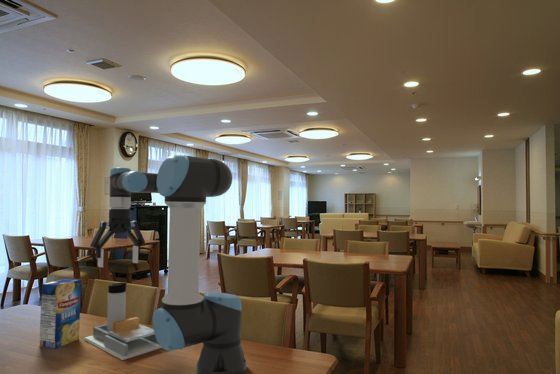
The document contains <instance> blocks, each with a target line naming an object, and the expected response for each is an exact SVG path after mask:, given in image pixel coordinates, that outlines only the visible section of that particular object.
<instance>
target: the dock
mask: <svg viewBox="0 0 560 374" xmlns="http://www.w3.org/2000/svg"><path fill="white" fill-rule="evenodd" d="M92 332H93V333H92V335H89V336H86V337H84V341H85V342H87V343H89V344H90V345H93V346H95V347H97V348H99V349H101V350H103V351H104V352H106V353H108V354H109V355H112V356H113V357H116V358H117V359H119V360H121V361H124V360H127V359H130V358H134V357H137V356H141V355H145V354H146V353H149V352H152V351H157V350H159V349H163V348H162V347H161V346H160V344H159V343H158V341H157V339H156V336H155V334H154V335H151V336H147V337H144V338H140V339H136V340H133V341H129V342H124V341H122V340H120V339H118V338H116V337H113V336H111V335H109V334H108V332H107V323H106V324H102V325H96V326H94V327H93V329H92Z"/></svg>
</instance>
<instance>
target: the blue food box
mask: <svg viewBox="0 0 560 374" xmlns="http://www.w3.org/2000/svg"><path fill="white" fill-rule="evenodd" d="M81 290H82V279H79V278H78V279H77V278H63V279H59V280H54V281H50V282H46V283H42V284H41V295H40V296H41V298H40V300H41V301H40V306H41V307H40V320H39V321H40V322H39V323H40V325H39V347H40V348H45V349H53V350H56V349H58V348H60V347H63V346H66V345H68V344H70V343H72V342H74V341H77V340H80V326H81V325H80V322H81V320H80V319H81V296H82V295H81V294H82V291H81Z"/></svg>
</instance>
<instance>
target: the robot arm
mask: <svg viewBox="0 0 560 374" xmlns="http://www.w3.org/2000/svg"><path fill="white" fill-rule="evenodd" d="M109 172H110V174H109V198H108V199H109V202H108V203H109V206H108V207H109V208H110V209H108V221H100V223H99V227H98V229H97V232H96V233H95V235H94V238H93V239H92V242H91V243H90V244H89V247H91V248H92V249H95V258H96V259H97V267H98V268H104V250H105V249H104V248H103V247H104V246H105V244H107V242H108V241H109V240H110V238H111V237H112V236H113V235H114V234H126V236H127V237H128V238H129V239H130V241H131V242H132V243H133V244H134V245H132V263H133V264H138V263H139V255H141V254H140V253H141V247H142V245H144V244H146V240H145V239H144V236H143V234H142V233H141V230H140V228H139V222H138V221H137V220H132V221H131V209H130V208H131V206H132V205H131V202H132V198H131V197H132V195H131V194H133V193H137V194H138V193H141V194H142V193H144V194H145V193H147V194H149V193H150V194H159V195H161V196H162V197H164V204H165V205H166V206H167V207H168V208H169V221H168V222H169V228H168V260H167V261H168V263H167V264H168V267H167V269H168V271H167V293H166V294H165V295H164V296H163V297H162V298H161V307H159V308H157V309H156V310H155V311H154V313H153V314H152V315H153V316H152V329H154V333H155V336H156V339H157V341H158V343H159V344H160V346H161V347H162V348H161V349H163V350H164V351H169V352H172V351H173V352H174V351H177V350H183V349H186V348H189V347H192V346H195V345H199V344H202V347H201V351H200V354H199V358H198V360H197V362H196V366H195V367H196V370H195V371H196V374H245V373H246V372H245V371H247V360H246V358H245V353H244V350H243V347H242V312H243V309H242V299H241V298H240V297H239V296H238V295H236V294H233V293H226V292H206V293H204V295H202V294H201V293H200V288H199V284H200V283H199V282H200V251H201V250H200V241H201V210H202V208H203V207H204V206H205V205H206V203H207V198H216V197H220V196H222V195H224V194H226V193H227V192H228V191H229V189H231V186H232V184H233V174H232V170H231V169H230V167H229V166H228V165H227V164H226V163H225V162H224V161H221V160H218V159H217V158H207V157H199V156H190V155H179V154H178V155H170V156H168V157H166V158H165V159H164V160H163V161H162V163H161V165H160V167H159V168H158V171H157V173H154V172H145V171H143V172H142V171H137V170H131V168H129V167H112V168H111V169H110V171H109ZM108 227H109V228H108ZM130 227H132V230H133V232H134V233H133V232H132V230H131V229H130ZM107 228H108V230H107V231H106V229H107ZM105 231H106V233H105ZM104 233H105V234H104ZM102 236H103V237H102Z"/></svg>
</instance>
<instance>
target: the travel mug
mask: <svg viewBox="0 0 560 374" xmlns="http://www.w3.org/2000/svg"><path fill="white" fill-rule="evenodd" d="M126 288H127V282H119V283H118V282H117V283H112V284H110V285H108V287H107V289H108V290H107V311H106V312H107V314H106V317H107V319H106V320H107V321H106V324H107V332H109V331H113V322H116V321H121V320H125V319H126V309H127V308H126V306H127V304H126V303H127V302H126V301H127V289H126Z"/></svg>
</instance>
